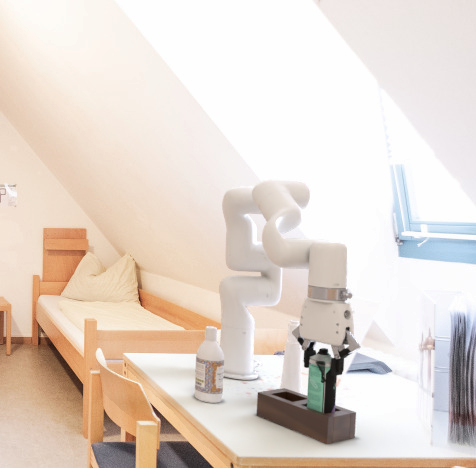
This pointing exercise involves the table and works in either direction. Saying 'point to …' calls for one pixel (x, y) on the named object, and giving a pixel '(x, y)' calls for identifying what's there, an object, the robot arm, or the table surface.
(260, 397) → the rack
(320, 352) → the spray can
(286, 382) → the cosmetic bottle
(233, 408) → the table surface
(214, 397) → the bath foam
